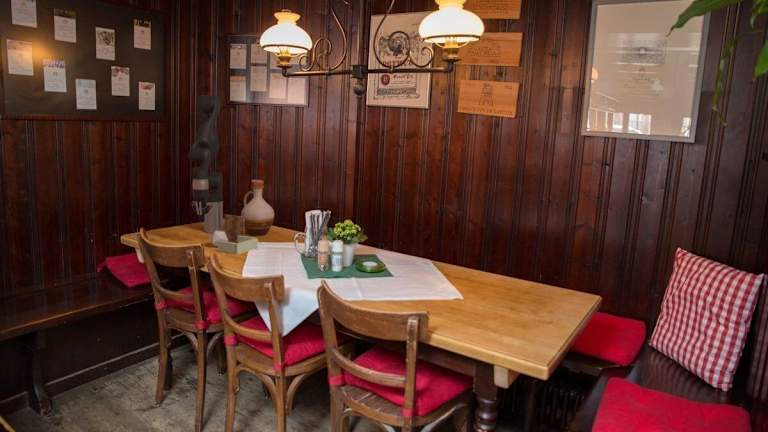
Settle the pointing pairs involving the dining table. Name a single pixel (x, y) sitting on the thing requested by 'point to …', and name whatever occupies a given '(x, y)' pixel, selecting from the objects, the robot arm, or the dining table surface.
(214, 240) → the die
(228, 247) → the tray
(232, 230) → the menu board
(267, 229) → the jug
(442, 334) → the dining table surface
